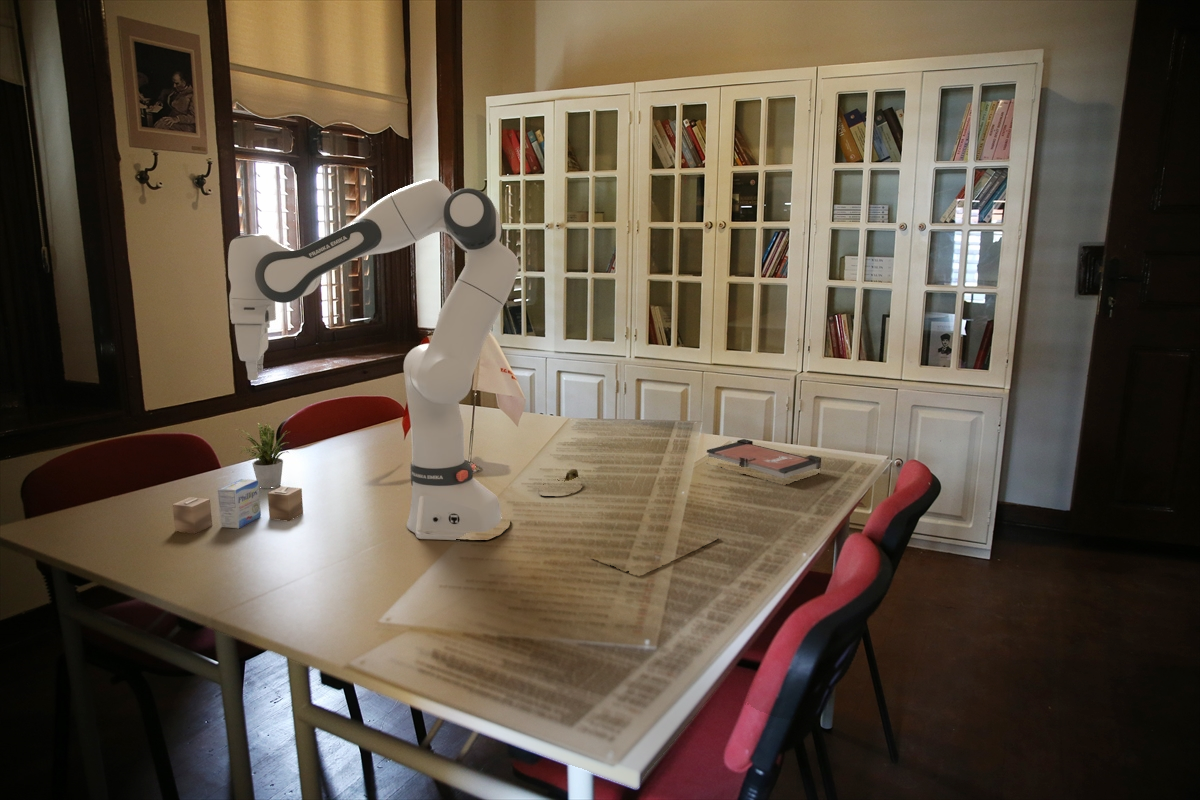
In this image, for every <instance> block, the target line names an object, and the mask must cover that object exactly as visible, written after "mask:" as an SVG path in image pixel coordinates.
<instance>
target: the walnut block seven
mask: <svg viewBox="0 0 1200 800" xmlns="http://www.w3.org/2000/svg"><path fill="white" fill-rule="evenodd" d="M302 490H303V489H302V488H299V487H293V486H292V487H291V486H279V487H277V488H275V489H273V490H271V491H269V492H267V499H268V514H269V516H268V517H269V519H270V518H271V519H270V520H275V519H280V520H279V521H284V520H287V521H286V522H290V521H293V520H294V519H296V518H298V517H300V516H302V515H303V514H304V506H303V491H302ZM301 514H302V515H301ZM299 515H300V516H299ZM297 516H298V517H297ZM293 518H294V519H293Z"/></svg>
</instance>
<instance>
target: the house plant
mask: <svg viewBox="0 0 1200 800" xmlns="http://www.w3.org/2000/svg"><path fill="white" fill-rule="evenodd" d="M257 425H258V426H257V427H258V429H259V431H258V432H259V439H260V443H258V441H257V440H256V439H254V437H253V436H252V435H251V434H250V433H249V432H247V431H245V430H243V429H240V431H242V432H243V433H244V434H246V435H247V438H246V440H248V441H249V442H250V443H251V444H253V445H254V446H250V447H248V448H247V447H246V446H243V445H241V446H239V447H240V448H241V447H242V448H244V449H243V450H241V451H240V453H239V454H241V453H244V452H246V451H247V452H248V453H251V454H250V455H249V460H250V459H251V458H253V457H256V458H255V459H256V460H254V461H253V462H252V468H253V471H254V474H255V480H257V481H258V485H259V487H261V488H260V489H262V488H271V487H276V486H278V487H280V486H281V485H280V484H282V475H283V474H282V473H283V466H284V465H283V464H284V459H282V458H280V456H281V455H282V454H285V453H289V454H290V452H289V451H288V450H287V451H282V449H283V448H282V447H281V446H282V445H284V444H289V443H290V442H289V441H288V442H287V441H286V442H285V441H284V442H283V443H280V442H281V440H282V439H283V438H284V437H285V436H286V431H285V432H283V434H282V435H281V436H280V438H279V439H278V440H277V441H276V442H274V441H275V436H276V434H275V428H274V427H273V426H272V427H271V423H269V424H268V423H265V425H264V427H263V426H262V424H261V423H259V422H257ZM234 430H236V431H239V429H237V428H236V429H234ZM288 433H290V431H288V432H287V434H288ZM238 437H239V438H242V437H246V436H242V435H240V436H239V435H238ZM254 449H256V450H257V451H258V452H257V451H256V450H254ZM280 451H282V452H280ZM279 485H280V486H279ZM276 488H277V487H276ZM271 489H272V488H271Z"/></svg>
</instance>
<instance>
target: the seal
mask: <svg viewBox="0 0 1200 800" xmlns="http://www.w3.org/2000/svg"><path fill="white" fill-rule="evenodd" d="M576 477H578V478H579V472H578V470H577V468H572V469H569V470H568V471H567V472H566V474H565V477H564V478H563V479H565V480H564V482H565V481H569V480H572V479H574V478H576ZM557 480H558V479H557ZM558 481H560V480H558ZM562 481H563V480H562ZM544 484H545V483H543V485H544Z"/></svg>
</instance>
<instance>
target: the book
mask: <svg viewBox="0 0 1200 800" xmlns="http://www.w3.org/2000/svg"><path fill="white" fill-rule="evenodd" d="M753 443H754V441H753V440H750V439H745V438H743V439H738V440H737V442H733V443H729V444H725V445H720V446H717V447H714V448H710V449H706V453H708V458H709V457H714V458H717V459H721V460H725V461H728V462H732V463H735V464H739V466H741V467H749V468H752V469H755V470H758V471H761V472H764V473H767V474H770V475H774V476H777V477H780V478H787V477H790V476H793V475H797V474H800V473H803V472H807V471H810V470H813V469H819V468H822V467H821V465H822V457H819V456H816V455H812V454H810V455H808V456H802V455H799V454H798V455H797V454H793V453H789V452H785V451H781V450H778V449H773V448H769V447H765V446H761V445H758V444H757V445H756V444H753Z"/></svg>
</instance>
